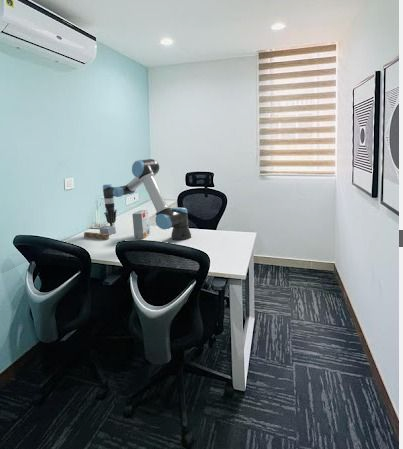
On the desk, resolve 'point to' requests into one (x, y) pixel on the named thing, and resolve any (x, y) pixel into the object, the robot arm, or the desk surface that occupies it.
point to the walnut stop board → (96, 235)
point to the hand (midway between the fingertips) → (112, 230)
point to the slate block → (108, 230)
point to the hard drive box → (141, 224)
